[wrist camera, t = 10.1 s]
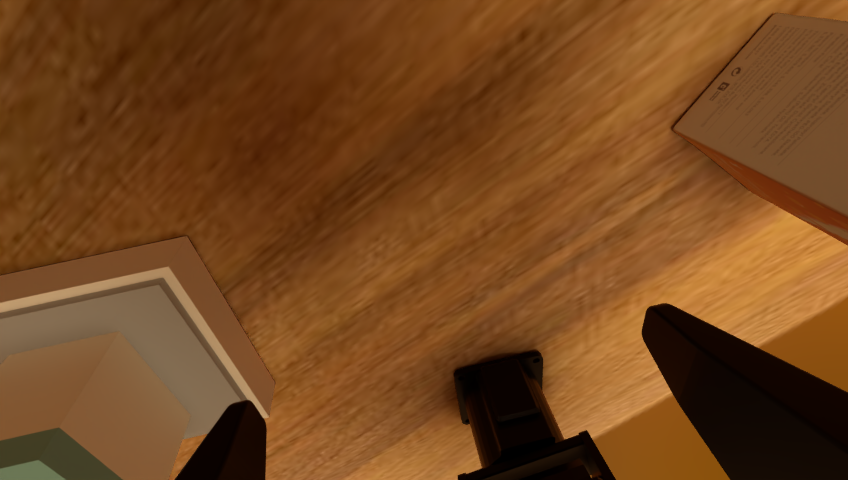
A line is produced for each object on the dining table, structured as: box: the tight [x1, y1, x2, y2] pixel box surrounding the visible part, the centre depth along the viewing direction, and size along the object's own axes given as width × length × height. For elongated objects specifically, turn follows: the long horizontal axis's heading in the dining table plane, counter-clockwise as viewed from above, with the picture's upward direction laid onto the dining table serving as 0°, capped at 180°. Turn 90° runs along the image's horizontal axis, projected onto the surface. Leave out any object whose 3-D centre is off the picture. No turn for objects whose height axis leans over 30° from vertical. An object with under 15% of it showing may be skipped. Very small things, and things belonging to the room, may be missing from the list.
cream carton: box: [0, 331, 191, 480], centre depth 18 cm, size 5×7×6 cm
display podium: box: [0, 236, 275, 439], centre depth 22 cm, size 12×12×3 cm
